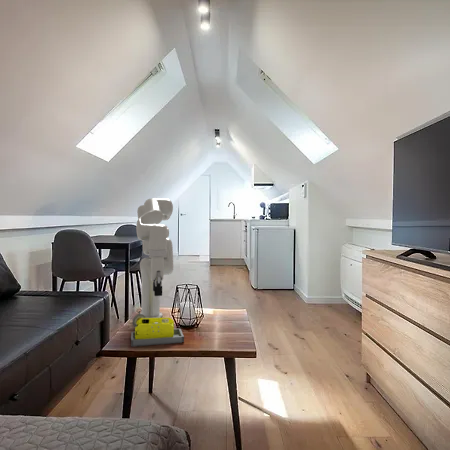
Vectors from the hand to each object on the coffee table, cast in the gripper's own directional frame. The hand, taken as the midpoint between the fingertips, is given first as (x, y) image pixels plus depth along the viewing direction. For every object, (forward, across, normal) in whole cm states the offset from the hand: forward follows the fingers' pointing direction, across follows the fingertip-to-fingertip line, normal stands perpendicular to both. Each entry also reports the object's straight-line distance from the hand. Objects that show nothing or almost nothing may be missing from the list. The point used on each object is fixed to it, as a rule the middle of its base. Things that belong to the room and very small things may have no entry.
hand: (157, 293), depth 153 cm
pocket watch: (+20, -13, -6) cm, 25 cm away
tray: (+20, 0, 0) cm, 20 cm away
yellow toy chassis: (+20, 0, -1) cm, 20 cm away
